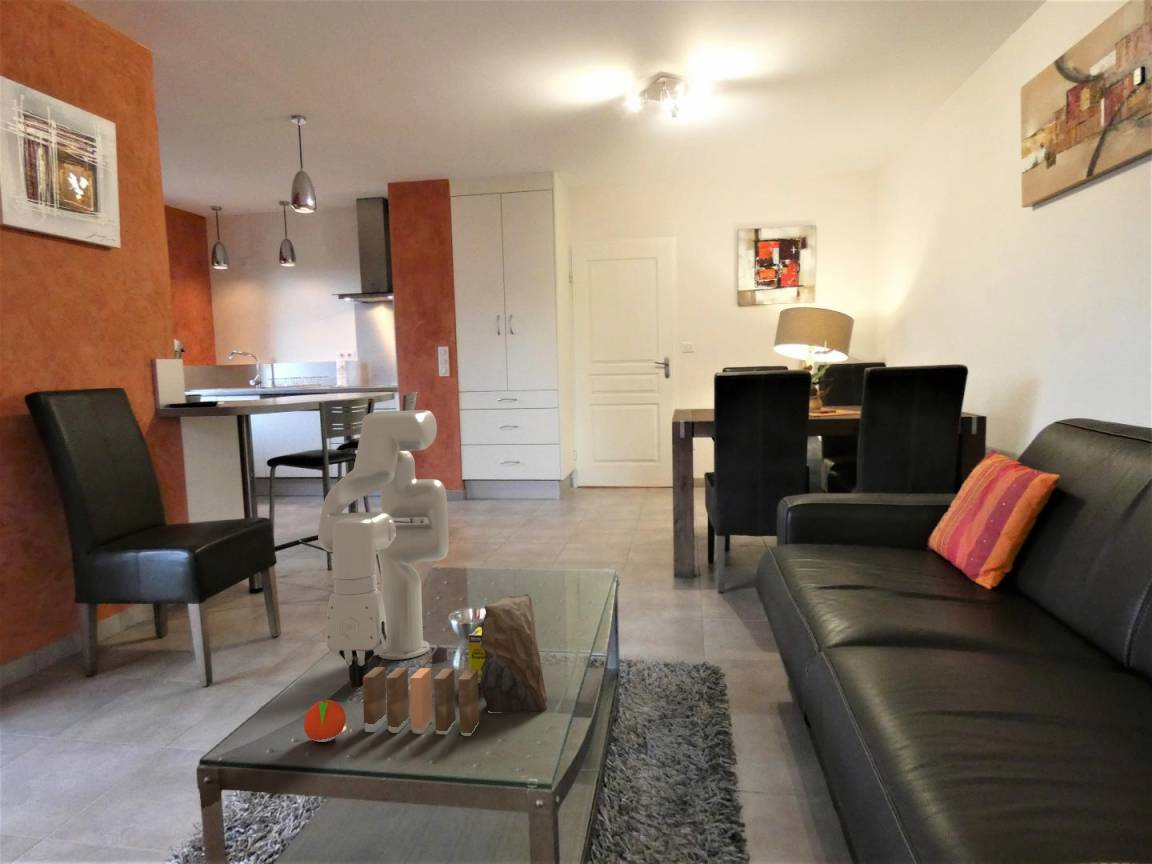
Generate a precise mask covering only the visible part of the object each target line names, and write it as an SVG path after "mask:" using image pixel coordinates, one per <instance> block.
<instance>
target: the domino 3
mask: <svg viewBox="0 0 1152 864" xmlns="http://www.w3.org/2000/svg"><path fill="white" fill-rule="evenodd" d="M409 692H410V694H409V696H410V722H411V729H412V728H420V729H422V728H423V727H424V726H425V725H426V724H427V723H428V722H429V721H430V720H431V719H432V720H433V702H432V698H433V696H432V694H433V692H432V668H431V667H420V668H419V669H418V670H417V671H415V673H413V674H412V675H411V676H410V677H409Z"/></svg>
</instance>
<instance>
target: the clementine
mask: <svg viewBox="0 0 1152 864" xmlns="http://www.w3.org/2000/svg"><path fill="white" fill-rule="evenodd" d="M346 719H347V718H346V713H345V710H344V708H343V706H341V705H340V703H338V702H336V701H334V700H332V699H324V700H320V701H318V702H316V703H315V704H313V705H312V706H311V707H310V708H309V710H308V711H307V713H306V714H305V717H304V718H303V729H304V730H303V731H304V733H305V735H306V736H307V738H308V739H310V738H311V739H314V740H322V739H327V738H331V737H334V736H336V735H338V734H339V733H340V734H341V733H342V732H343V730H344V727H345V725H346V721H347V720H346ZM311 739H310V740H311Z"/></svg>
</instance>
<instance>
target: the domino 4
mask: <svg viewBox="0 0 1152 864" xmlns="http://www.w3.org/2000/svg"><path fill="white" fill-rule="evenodd" d="M455 682H456V681H455V668H443V669H442V670H441V671H440V672H439V673H438V674H437V675H435V677H433V686H434V687H433V689H434V693H433V694H434V716H435V717H434V721H435V723H434V724H435V726H434V727H435V731H436V730H438V731H447V730H448V728H449V727H450V726H451V724H452V723H453V722H454V721H455V720H457V719H456V718H457V717H456V716H457V715H456V690H455V689H456V688H455V687H456V685H455Z"/></svg>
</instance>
